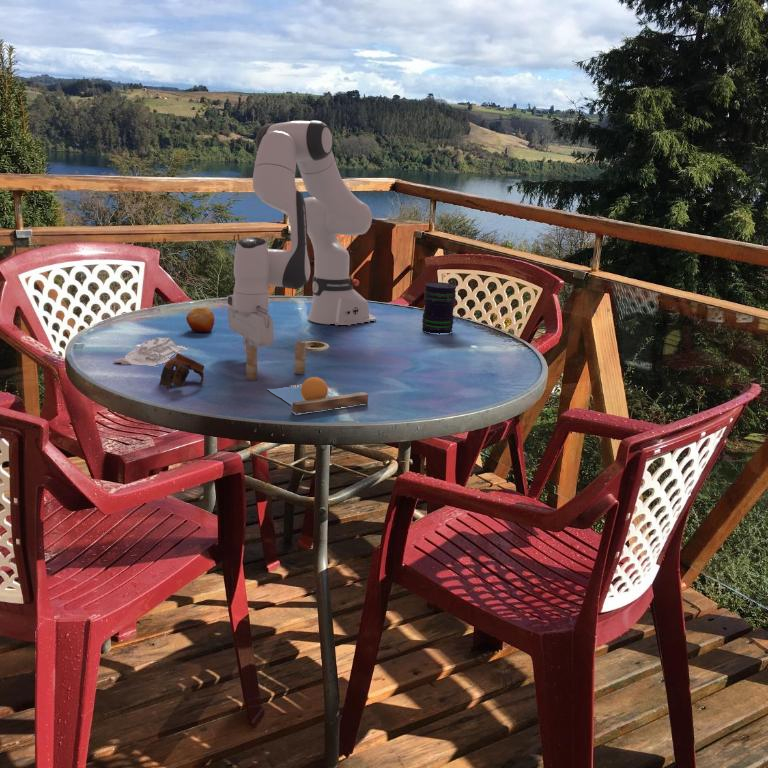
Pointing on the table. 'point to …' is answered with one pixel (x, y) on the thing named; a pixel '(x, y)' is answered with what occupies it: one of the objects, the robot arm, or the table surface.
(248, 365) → the post
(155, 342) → the terrain model
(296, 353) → the post
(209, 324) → the fruit
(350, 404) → the stopper wall
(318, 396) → the ball
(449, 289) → the storage jar
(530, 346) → the table surface
